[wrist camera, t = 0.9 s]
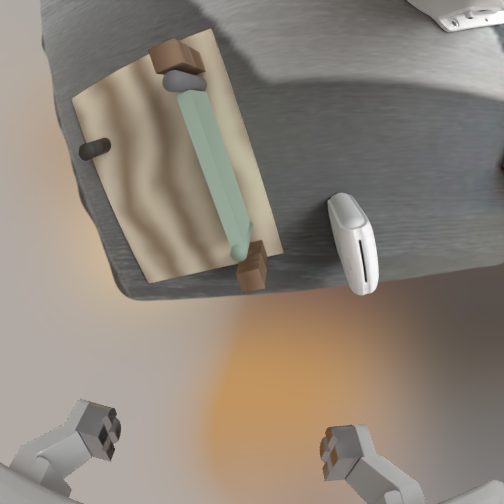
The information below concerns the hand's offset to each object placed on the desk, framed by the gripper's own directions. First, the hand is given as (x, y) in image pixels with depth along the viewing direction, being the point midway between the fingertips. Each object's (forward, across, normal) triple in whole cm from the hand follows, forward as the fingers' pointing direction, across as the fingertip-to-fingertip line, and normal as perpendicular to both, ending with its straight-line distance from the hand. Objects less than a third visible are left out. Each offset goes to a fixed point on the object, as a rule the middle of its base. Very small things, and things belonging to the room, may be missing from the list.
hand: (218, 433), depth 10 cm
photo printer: (+36, -15, 0) cm, 39 cm away
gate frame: (+36, +11, -6) cm, 38 cm away
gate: (+34, +4, -8) cm, 35 cm away
